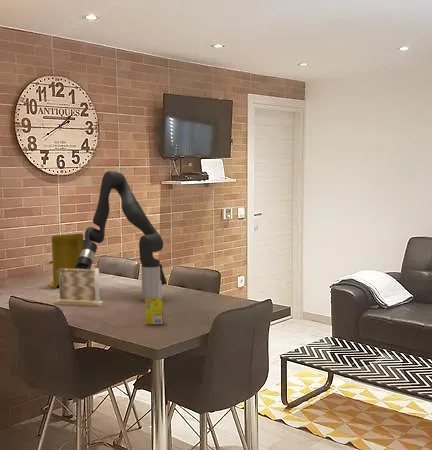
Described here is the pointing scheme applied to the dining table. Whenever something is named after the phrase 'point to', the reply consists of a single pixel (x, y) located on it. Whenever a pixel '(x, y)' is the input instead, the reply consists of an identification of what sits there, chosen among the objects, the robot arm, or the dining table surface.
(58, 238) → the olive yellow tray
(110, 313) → the dining table surface
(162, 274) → the door stopper
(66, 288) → the beige zigzag patterned panel
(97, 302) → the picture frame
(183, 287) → the dining table surface
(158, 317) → the crayon box
